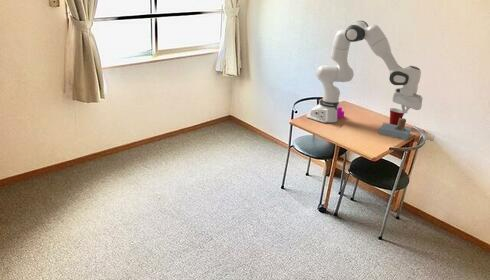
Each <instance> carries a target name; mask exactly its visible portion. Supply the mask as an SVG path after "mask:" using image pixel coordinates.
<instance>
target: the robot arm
mask: <svg viewBox="0 0 490 280" xmlns="http://www.w3.org/2000/svg"><path fill="white" fill-rule="evenodd" d="M363 40H365V41H366V43H367V44H368V45H369V48H370V49H371V51H372V53H374V54H375V55H376V56H377V57H379V58H381V59H382V60H383V62H384V64H385V66H386V67H387V69H388V71H389V78H388V79H389V82H390V84H392V85H393V86H402V87H398V88H395V90H394V91H395V92H394V93H393V96H392V102H393V103H395V104H398V105H401V110H402V112H404V113H405V114H407V113H408V111H409V110H410V109H412V110H415V111H418V110H419V111H420V110H421V109H422V104H423V97H422V95H420V94H418V93H417V92H418V89H419V83H420V80H421V75H422V71H421V69H420V68H419V67H417V66H415V65H414V66H413V65H409V66H406V67H404V68H403V67H401V66H400V65H399V64H398V61H396V59H395V57H394V56H393V53H392V49H391V46H390V43H389V41H388V38H387V37H386V35H385V33H384V32H383V30H382V29H381V27H379V26H378V25H377V24H370V25H368V23H367V22H366V21H365V20H357V21H356V22H353V23H352V24H351V25H349V26H348V27H347V28H346V29H340V30H337V32H336V34H335V36H334V38H333V42H332V47H331V51H330V58H331V60H332V61H334V62H335V63H336V65H329V64H328V65H327V64H326V65H325V64H324V65H319V67H318V68H317V69H316V74H315V75H316V77H317V80H319V82H321V84H322V85H323V86H322V87H323V94H322V95H323V96H322V98H321V99H319V103H318V104H317V105H315V106H313V107H312V108H311V109H310V111H309V112H308V113H307V114H306V116H305V117H306V118H307V119H311V120H314V121H318V122H321V123H337V122H338V118H337V109H338V107H340V106H339V105H340V104H339V103H340V100H339V99H340V94H341V91H340V89H339V87H337V86H335V85H334V82H336V83H347V82H351V81H352V80H353V78H354V74H355V73H354V69H353V68H352V67H351V66H350V65H349V63H348V55H349V51H350V46H351V42H352V43H355V42H356V43H357V42H359V41H363Z"/></svg>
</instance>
